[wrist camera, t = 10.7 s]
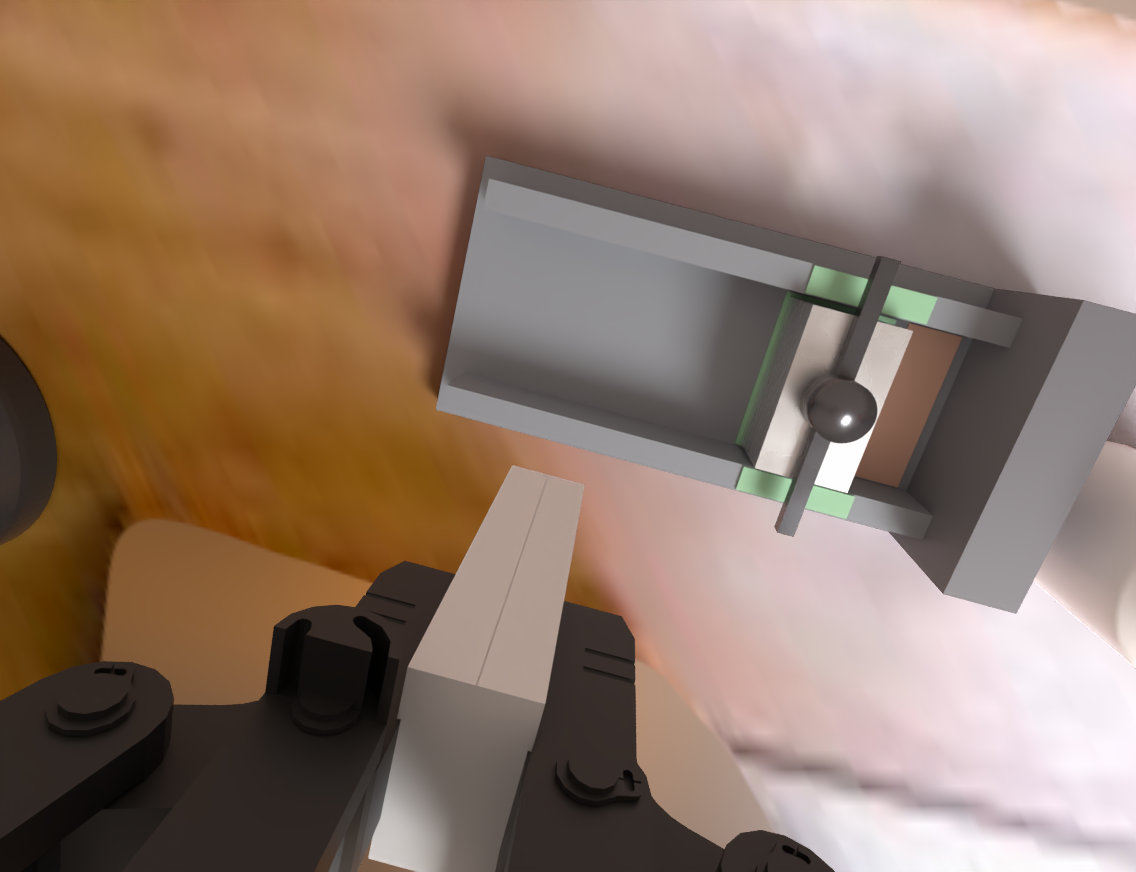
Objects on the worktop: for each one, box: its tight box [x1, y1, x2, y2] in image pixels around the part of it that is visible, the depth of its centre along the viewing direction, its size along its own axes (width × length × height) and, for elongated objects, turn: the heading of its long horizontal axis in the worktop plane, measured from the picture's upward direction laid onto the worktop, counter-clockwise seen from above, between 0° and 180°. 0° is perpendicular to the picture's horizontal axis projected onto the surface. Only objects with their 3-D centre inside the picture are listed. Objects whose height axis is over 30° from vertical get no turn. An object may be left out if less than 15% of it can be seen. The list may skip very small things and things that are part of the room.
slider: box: [740, 256, 913, 537], centre depth 28 cm, size 4×12×6 cm, turn 166°
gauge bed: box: [436, 156, 1136, 614], centre depth 29 cm, size 26×12×7 cm, turn 76°
